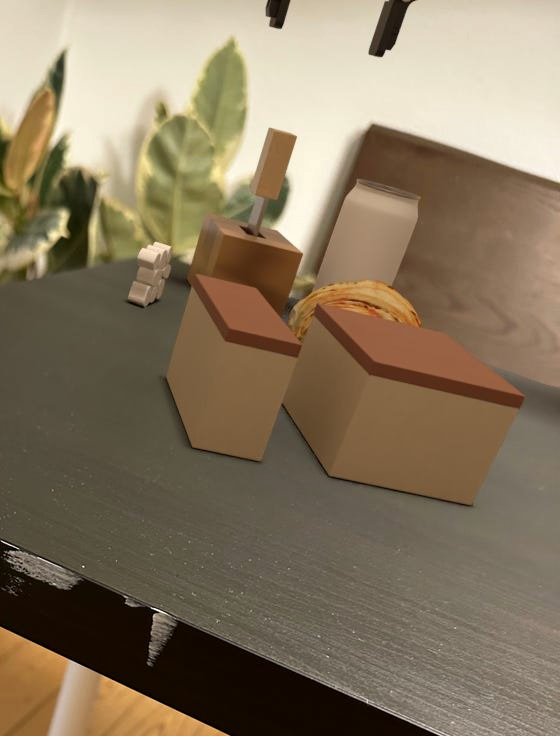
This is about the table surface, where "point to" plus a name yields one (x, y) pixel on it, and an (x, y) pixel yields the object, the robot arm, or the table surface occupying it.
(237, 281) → the knife block
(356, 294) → the croissant
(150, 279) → the marshmallow
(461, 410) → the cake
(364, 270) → the can
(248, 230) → the knife
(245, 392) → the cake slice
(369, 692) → the table surface
